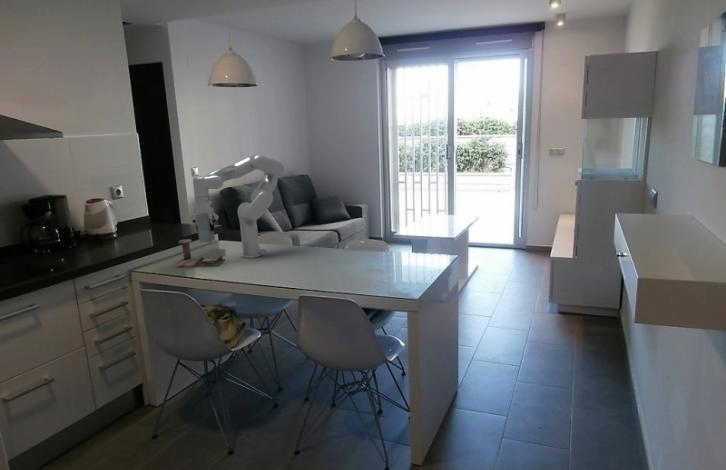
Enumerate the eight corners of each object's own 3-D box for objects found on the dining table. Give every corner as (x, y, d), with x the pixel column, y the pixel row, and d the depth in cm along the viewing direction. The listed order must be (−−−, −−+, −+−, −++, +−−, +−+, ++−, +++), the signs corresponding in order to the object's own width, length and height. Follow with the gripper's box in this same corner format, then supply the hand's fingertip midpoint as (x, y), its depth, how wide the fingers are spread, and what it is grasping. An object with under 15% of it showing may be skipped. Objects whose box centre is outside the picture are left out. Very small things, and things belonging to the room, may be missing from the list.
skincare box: (210, 242, 271) (207, 213, 268) (197, 242, 271) (194, 214, 268) (215, 239, 280) (212, 211, 276) (203, 239, 280) (200, 211, 277)
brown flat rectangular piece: (225, 260, 284) (224, 255, 283) (218, 266, 272) (218, 260, 272) (184, 262, 285) (183, 257, 284) (175, 267, 273) (174, 262, 273)
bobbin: (195, 258, 291) (193, 239, 289) (191, 262, 284) (188, 241, 282) (184, 259, 291) (181, 239, 289) (179, 262, 284) (176, 242, 282)
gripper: (219, 197, 274) (223, 229, 278) (189, 198, 275) (192, 230, 278) (215, 199, 267) (219, 232, 270) (183, 200, 267) (187, 233, 271)
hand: (205, 230), depth 274 cm, fingers closed on skincare box, 6 cm apart
